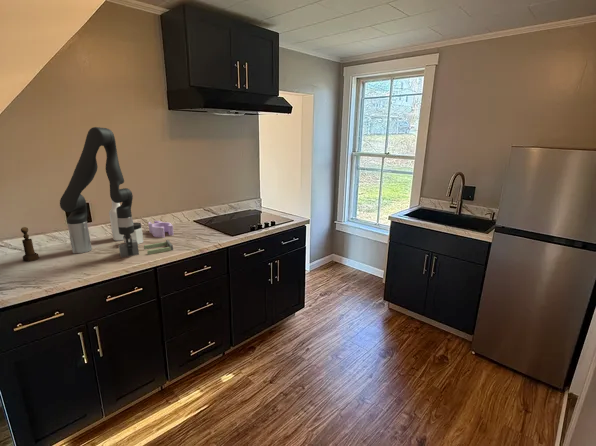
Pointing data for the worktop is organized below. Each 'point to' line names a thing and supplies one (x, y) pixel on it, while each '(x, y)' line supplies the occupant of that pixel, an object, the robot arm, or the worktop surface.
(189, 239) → the worktop surface
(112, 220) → the alcohol
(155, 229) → the clip
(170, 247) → the deck socket
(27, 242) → the brown chess pawn
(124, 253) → the upright grey block
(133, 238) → the jar
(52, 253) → the worktop surface
